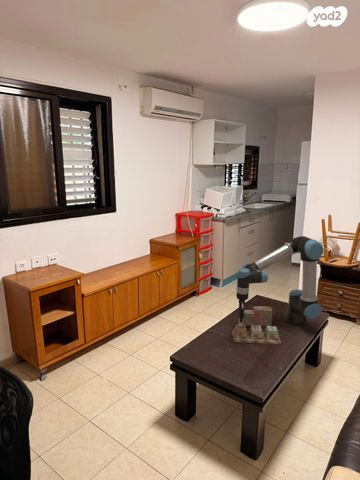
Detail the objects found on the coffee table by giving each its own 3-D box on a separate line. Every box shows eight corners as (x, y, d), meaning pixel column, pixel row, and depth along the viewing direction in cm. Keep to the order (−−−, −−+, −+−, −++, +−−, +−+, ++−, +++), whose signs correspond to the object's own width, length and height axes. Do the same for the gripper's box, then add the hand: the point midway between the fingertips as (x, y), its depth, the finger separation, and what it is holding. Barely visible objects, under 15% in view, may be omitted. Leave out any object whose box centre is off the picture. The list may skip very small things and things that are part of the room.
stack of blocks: (241, 325, 232) (241, 309, 229) (240, 321, 238) (240, 305, 235) (271, 326, 231) (272, 310, 228) (269, 322, 237) (270, 306, 234)
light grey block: (275, 331, 216) (275, 326, 215) (277, 335, 210) (277, 330, 209) (266, 330, 216) (266, 325, 215) (267, 335, 210) (268, 330, 210)
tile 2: (260, 330, 217) (260, 325, 216) (261, 335, 211) (261, 329, 210) (250, 329, 217) (251, 324, 216) (251, 334, 211) (252, 329, 211)
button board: (277, 334, 219) (277, 328, 218) (280, 344, 208) (281, 337, 207) (232, 332, 222) (232, 325, 221) (233, 341, 211) (233, 334, 209)
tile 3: (244, 329, 218) (245, 324, 217) (245, 334, 212) (245, 329, 211) (235, 329, 218) (236, 324, 217) (236, 333, 212) (236, 328, 212)
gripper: (236, 288, 215) (234, 321, 221) (237, 296, 203) (235, 330, 208) (247, 288, 214) (245, 321, 220) (249, 296, 202) (247, 331, 207)
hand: (240, 326), depth 214 cm, fingers closed
